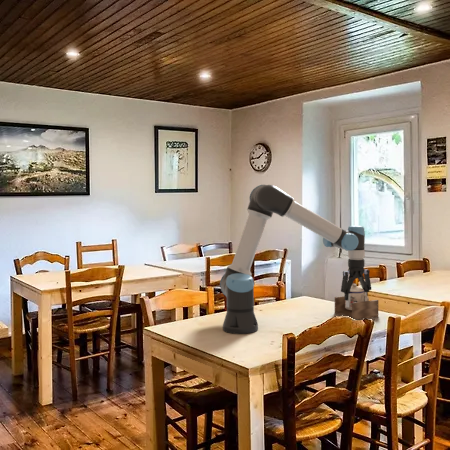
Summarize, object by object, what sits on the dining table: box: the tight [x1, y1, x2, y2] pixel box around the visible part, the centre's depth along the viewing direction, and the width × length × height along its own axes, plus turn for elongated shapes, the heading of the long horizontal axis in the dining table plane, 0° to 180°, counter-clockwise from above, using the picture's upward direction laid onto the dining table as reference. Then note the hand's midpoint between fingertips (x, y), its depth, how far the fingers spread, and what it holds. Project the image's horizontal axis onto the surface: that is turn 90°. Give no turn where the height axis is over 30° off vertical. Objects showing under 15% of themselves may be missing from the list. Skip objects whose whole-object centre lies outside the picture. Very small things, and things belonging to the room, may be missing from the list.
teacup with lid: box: [345, 283, 370, 310], centre depth 254 cm, size 12×9×12 cm
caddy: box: [334, 295, 379, 320], centre depth 254 cm, size 14×15×8 cm
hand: (356, 306), depth 254 cm, fingers closed on teacup with lid, 8 cm apart
